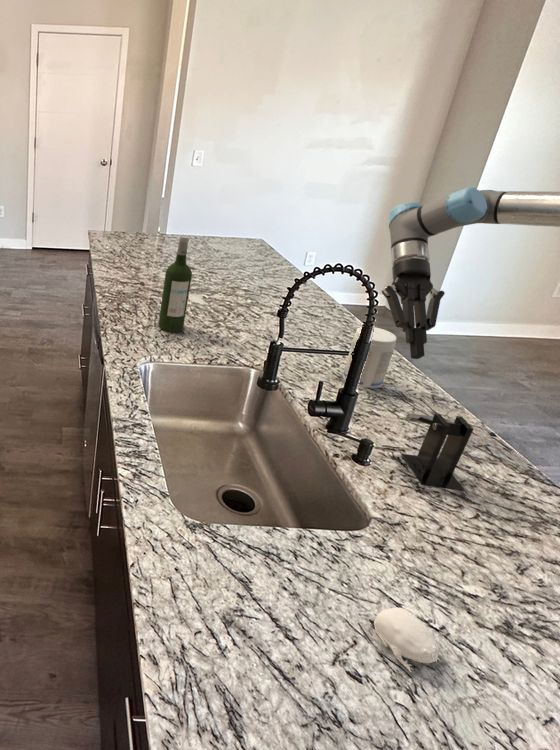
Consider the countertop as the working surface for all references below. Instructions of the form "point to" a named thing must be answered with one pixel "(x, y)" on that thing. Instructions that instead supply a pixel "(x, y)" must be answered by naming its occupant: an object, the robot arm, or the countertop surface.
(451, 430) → the tap lever
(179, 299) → the wine bottle
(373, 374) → the supplement tub
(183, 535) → the countertop surface
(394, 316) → the robot arm
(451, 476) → the bracket
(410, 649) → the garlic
